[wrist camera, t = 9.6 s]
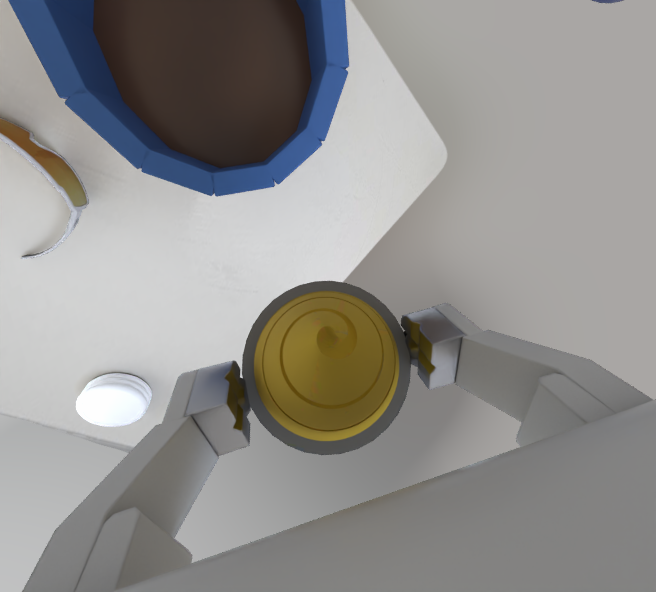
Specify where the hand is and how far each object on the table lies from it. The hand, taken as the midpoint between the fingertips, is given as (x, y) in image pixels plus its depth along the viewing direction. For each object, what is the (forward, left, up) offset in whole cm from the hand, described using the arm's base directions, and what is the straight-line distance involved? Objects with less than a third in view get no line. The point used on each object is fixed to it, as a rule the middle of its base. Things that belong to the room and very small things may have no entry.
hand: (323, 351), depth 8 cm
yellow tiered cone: (0, 0, -3) cm, 3 cm away
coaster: (+34, +29, -35) cm, 56 cm away
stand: (+2, -10, -35) cm, 36 cm away
